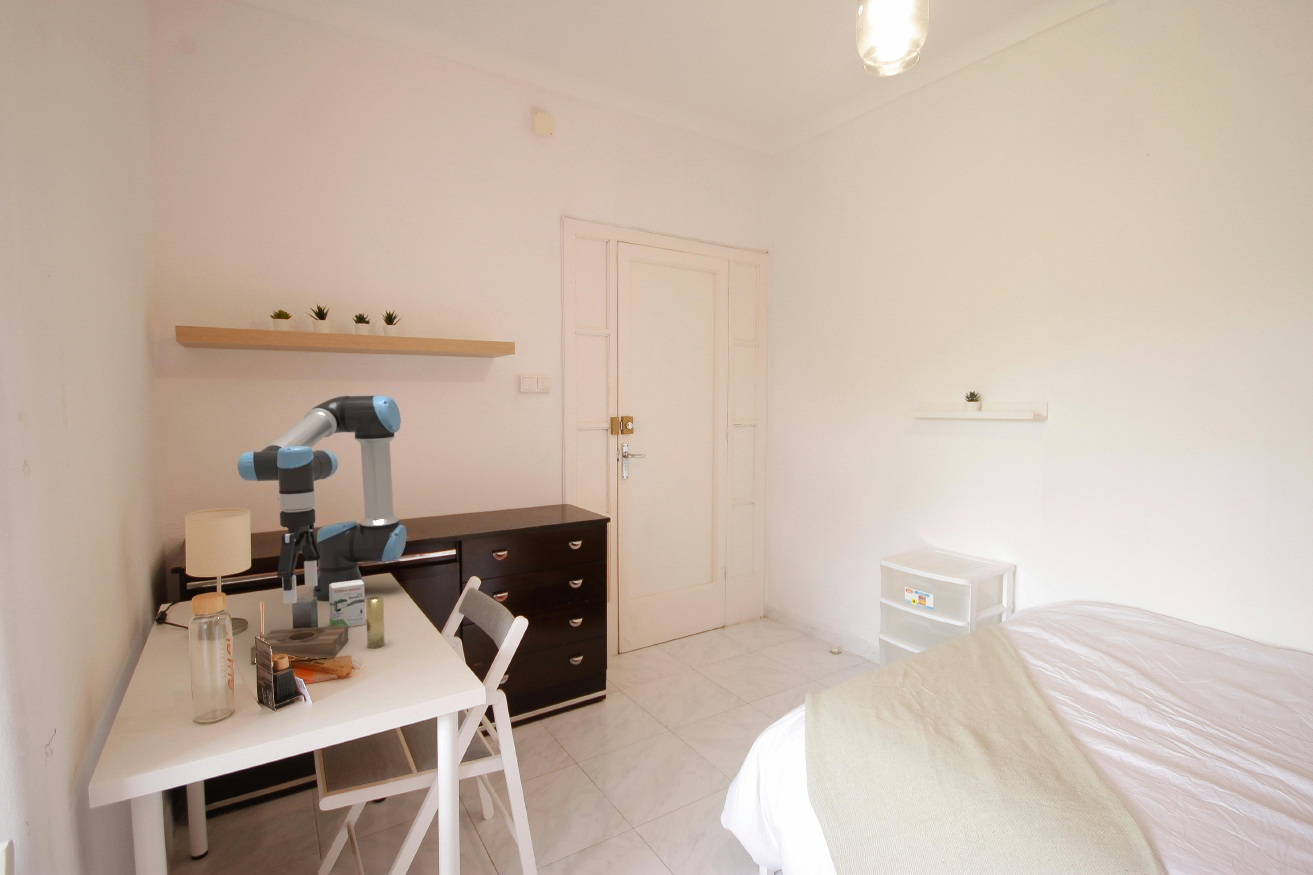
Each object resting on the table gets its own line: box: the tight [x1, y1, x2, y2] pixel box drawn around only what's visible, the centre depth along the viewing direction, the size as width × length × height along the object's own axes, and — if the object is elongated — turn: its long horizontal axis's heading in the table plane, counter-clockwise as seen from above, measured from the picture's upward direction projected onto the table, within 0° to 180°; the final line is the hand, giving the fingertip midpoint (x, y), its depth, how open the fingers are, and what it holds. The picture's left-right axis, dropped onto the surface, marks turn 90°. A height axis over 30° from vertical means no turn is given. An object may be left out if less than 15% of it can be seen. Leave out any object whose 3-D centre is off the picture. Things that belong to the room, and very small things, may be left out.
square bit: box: [291, 596, 319, 629], centre depth 165 cm, size 4×4×10 cm
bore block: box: [250, 625, 350, 665], centre depth 154 cm, size 12×18×4 cm, turn 100°
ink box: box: [329, 580, 366, 628], centre depth 174 cm, size 9×5×12 cm, turn 124°
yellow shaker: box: [365, 596, 385, 649], centre depth 158 cm, size 4×4×12 cm
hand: (301, 594), depth 154 cm, fingers open, 13 cm apart
